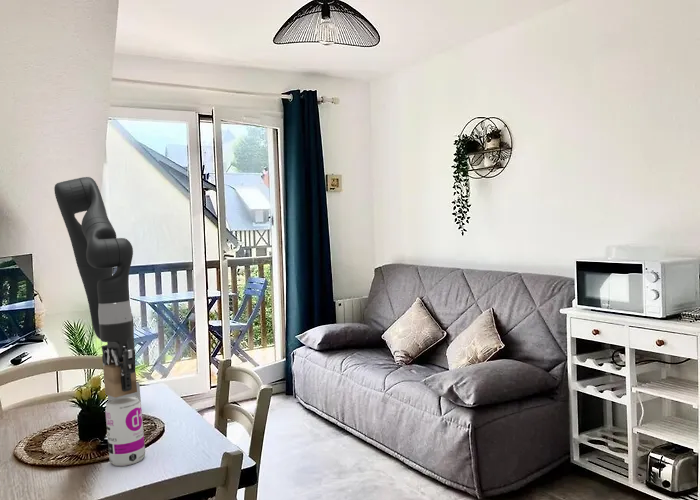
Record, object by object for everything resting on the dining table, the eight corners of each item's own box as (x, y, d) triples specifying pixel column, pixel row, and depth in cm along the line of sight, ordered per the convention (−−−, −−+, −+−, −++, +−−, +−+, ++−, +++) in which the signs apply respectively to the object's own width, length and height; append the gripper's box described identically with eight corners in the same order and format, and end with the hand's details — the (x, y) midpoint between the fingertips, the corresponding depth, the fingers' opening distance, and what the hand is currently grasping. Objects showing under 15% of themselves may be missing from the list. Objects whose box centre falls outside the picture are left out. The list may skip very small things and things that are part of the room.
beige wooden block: (127, 388, 150) (124, 361, 150) (137, 392, 146) (134, 363, 146) (105, 394, 146) (103, 365, 146) (115, 397, 143) (112, 368, 142)
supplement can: (152, 455, 149) (147, 396, 149) (127, 468, 142) (122, 406, 141) (128, 452, 153) (123, 394, 152) (102, 465, 145) (97, 404, 145)
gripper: (143, 319, 143) (149, 389, 144) (118, 316, 154) (123, 381, 154) (112, 324, 138) (119, 397, 139) (88, 321, 148) (94, 388, 149)
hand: (121, 388), depth 146 cm, fingers closed on beige wooden block, 5 cm apart
